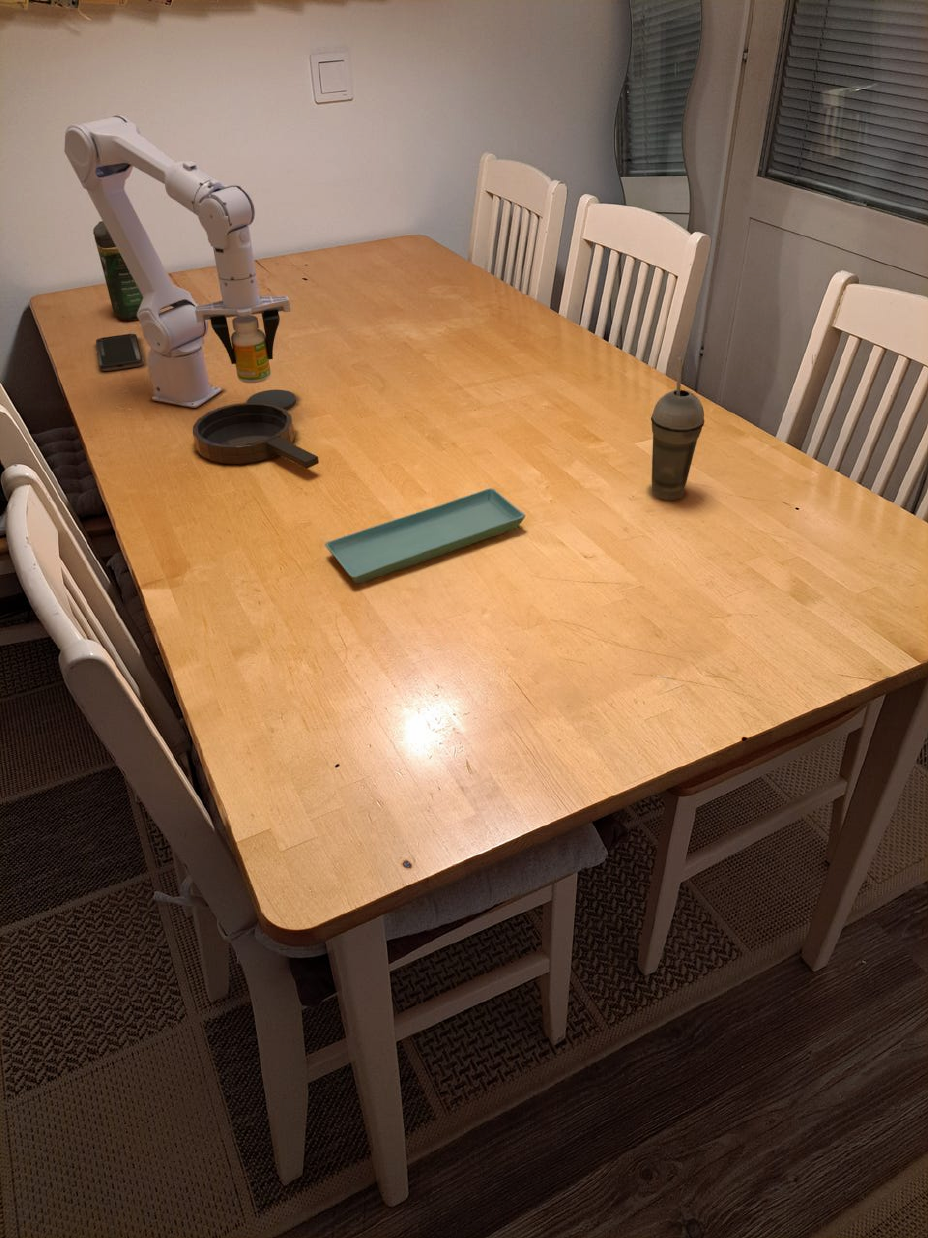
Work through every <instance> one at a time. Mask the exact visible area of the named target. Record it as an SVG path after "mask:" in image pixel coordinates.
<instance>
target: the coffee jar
mask: <svg viewBox="0 0 928 1238" xmlns="http://www.w3.org/2000/svg"><path fill="white" fill-rule="evenodd" d="M92 231H93V232H92V234H93V237H94V241H95V245H96V249H97V253H98V256H99V260H100V264H101V268H102V272H103V275H104V279H105V283H106V288H107V291H108V295H109V299H110V303H111V304H110V305H111V307H112V312H113V313H114V315H115V316H116V318H118V319H120V320H122V321H124V320H127V321H129V320H132V321H139V319H138V317H137V312H138V310H139V308H140V305H141V303H142V300H143V296H142V294H141V292H140V290H139V288H138V287H137V285H136V283H135V281H134V279H133V277H132V275H131V273H130V271H129V270H128V268H127V266H126V264H125V262H124V260H123V258H122V256H121V254H120V253H119V251H118V249H117V247H116V245H115V243H114V241H113V239H112V237H111V236H110V234H109V232H108V230H107V228H106V226H105V224H104V222H103V220H100V221H99V222H98V223H97V224H96V225H95V226H94V227H93V230H92Z"/></svg>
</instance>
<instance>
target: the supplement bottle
mask: <svg viewBox="0 0 928 1238" xmlns="http://www.w3.org/2000/svg"><path fill="white" fill-rule="evenodd" d="M231 321H232V328H233V331H234V332H232V334H231V335H230V340H231V345H232V348H233V353H234V356H235V361H236V364H235V370H236V375H237V378H238V381H240V382H242V383H244V384H258V383H263V382H265V381H267V380H269V379H270V377H271V376H272V373H271V365H270V359H268V353H267V346H266V339H265V332H263V330H261V329H259V328H260V326H259V325H260V324H259V320H258V316H256V315H248V316H236V317H233V319H232V320H231Z"/></svg>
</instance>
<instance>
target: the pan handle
mask: <svg viewBox="0 0 928 1238" xmlns="http://www.w3.org/2000/svg"><path fill="white" fill-rule="evenodd" d="M266 445H267V449H269V450H271V451H273V452H274V453H276V454H278V455H279V456H281V457H282V458H284V459H287V460H288V461H289V462H292V463H294V464H296V465H297V466H300V467H302V468H304V469H306V470H308V469H310V468H312V467H314V466H316V465H319V463H320V462H319V456H318V455H315V454H313V453H312V452H310V451H308V450H306V449H305V448H302V447H299V446H298V445H296V444H294V443H293V442H292V443H290V442H288V441H286V440H284V439H282V438H280V437H277V438H274V439H272V440H270V441H268V442H266Z"/></svg>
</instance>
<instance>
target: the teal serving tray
mask: <svg viewBox="0 0 928 1238" xmlns="http://www.w3.org/2000/svg"><path fill="white" fill-rule="evenodd" d="M525 518H526V514H525V513H524V512H523V511H521V510H520V509H519V508H517V507H516V506H515V505H514V504H513V503H511V502H510V501H509V500H508V499H507V498H505V497H504V495H502V494H500V493H499V492H498V491H497V490H496V489H495V488H492V487H489V488H485V489H483V490H480V491H477V492H473V493H472V494H468V495H466V496H463V497H460V498H456V499H453V500H450V501H448V502H445V503H442V504H439V505H435V506H433V507H430V508H427V509H423V510H420V511H418V512H415V513H412V514H411V513H410V514H408V515H404V516H402V517H399V518H395V519H393V520H390V521H387V522H383V523H380V524H377V525H374V526H371V527H368V528H364V529H362V530H359V531H356V532H353V533H350V534H347V535H344V536H341V537H338V538H335V539H332V540H328V541H326V542H325V543H324V547H326V549H327V550H328V551H329V553H330V554H331V555H332V556H333V557H334V559H335V560H336V561H337V563H339V565H340V566H341V567H342V569H344V571H345V572H346V573H347V574H348V576H349V577H350V578H351V580H352V581H353V582H354V583H355V584H357V585H360V584H363V583H366V582H369V581H371V580H375V579H378V578H380V577H383V576H386V575H388V574H392V573H394V572H397V571H401V570H402V569H406V568H409V567H413V566H414V565H418V564H420V563H423V562H426V561H429V560H432V559H434V558H437V557H440V556H444V555H446V554H448V553H451V552H454V551H457V550H459V549H462V548H465V547H468V546H470V545H473V544H477V543H479V542H482V541H484V540H487V539H490V538H492V537H495V536H498V535H501V534H503V533H506V532H509V531H512V530H515V529H516V528H518V527H519V526H520V525H521V524H522V522H523V520H524V519H525Z"/></svg>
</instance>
